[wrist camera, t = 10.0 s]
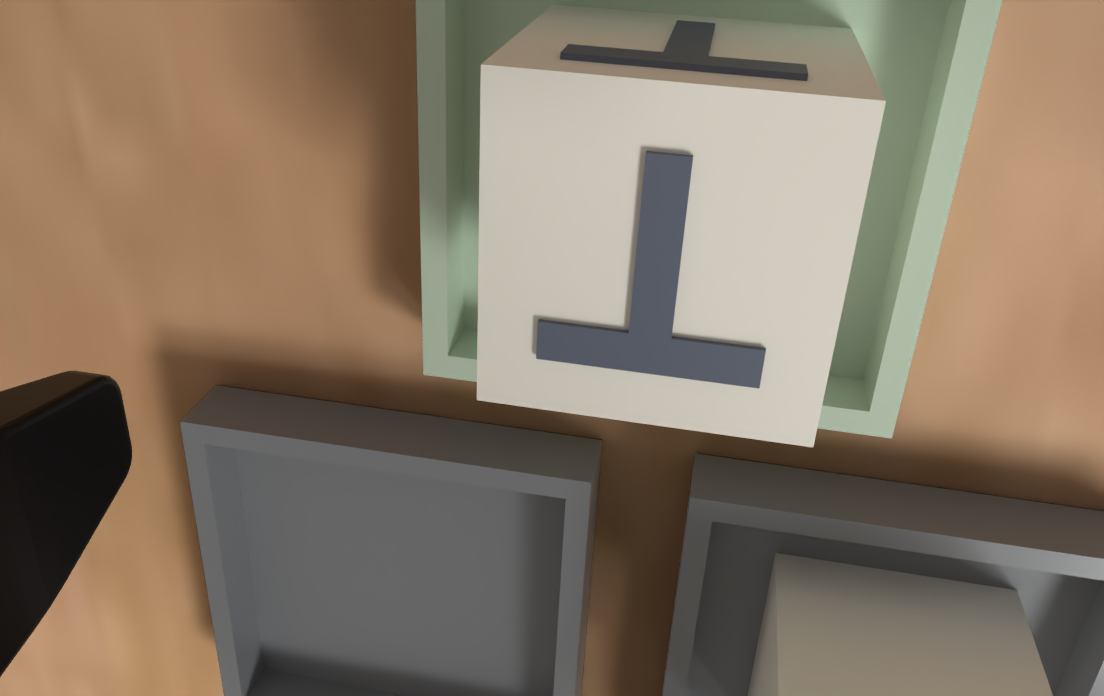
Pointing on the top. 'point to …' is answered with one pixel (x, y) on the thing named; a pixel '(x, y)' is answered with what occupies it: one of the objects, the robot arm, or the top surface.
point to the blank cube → (890, 635)
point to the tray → (890, 206)
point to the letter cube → (670, 217)
